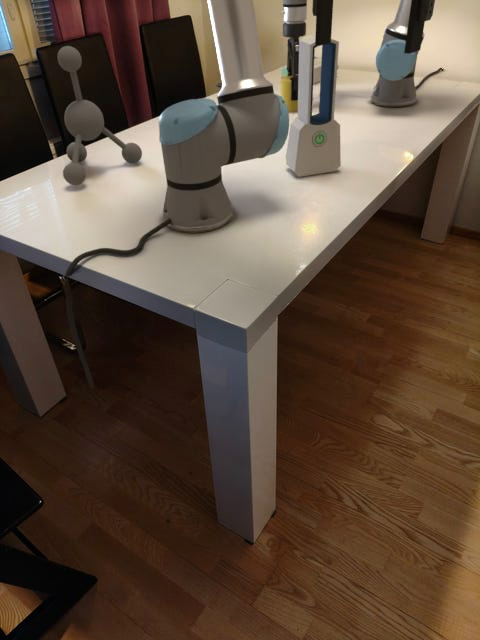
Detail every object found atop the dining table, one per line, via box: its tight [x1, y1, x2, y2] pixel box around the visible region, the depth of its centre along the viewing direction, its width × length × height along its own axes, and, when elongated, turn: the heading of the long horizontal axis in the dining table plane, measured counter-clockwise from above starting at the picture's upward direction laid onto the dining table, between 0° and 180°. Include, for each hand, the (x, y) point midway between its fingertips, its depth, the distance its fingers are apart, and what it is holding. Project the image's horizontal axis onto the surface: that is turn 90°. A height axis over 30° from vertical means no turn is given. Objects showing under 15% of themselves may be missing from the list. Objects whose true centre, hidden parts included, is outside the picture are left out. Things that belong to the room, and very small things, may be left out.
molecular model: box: [57, 45, 143, 186], centre depth 125 cm, size 24×22×30 cm
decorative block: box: [281, 55, 339, 85], centre depth 206 cm, size 26×6×20 cm
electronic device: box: [285, 34, 342, 178], centre depth 117 cm, size 12×8×30 cm, turn 105°
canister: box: [280, 76, 298, 113], centre depth 170 cm, size 9×9×10 cm
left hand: (364, 47), depth 65 cm, fingers open, 13 cm apart
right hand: (293, 96), depth 171 cm, fingers closed on canister, 9 cm apart
